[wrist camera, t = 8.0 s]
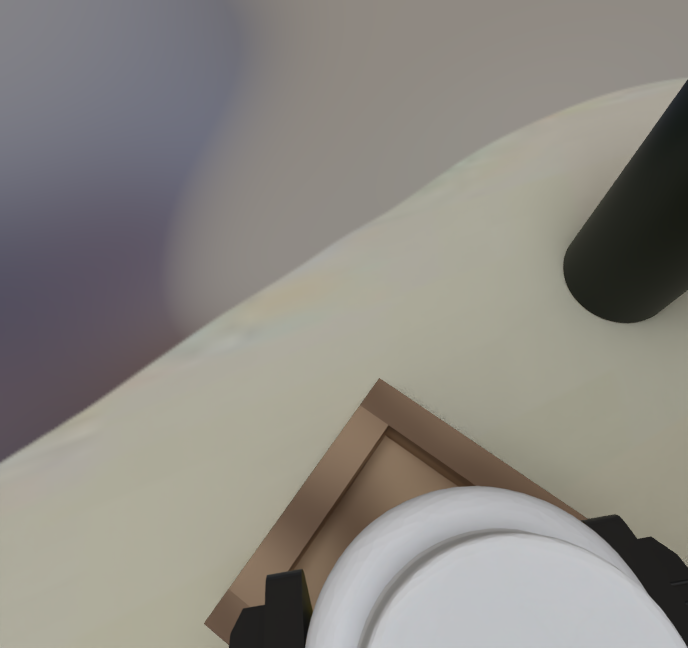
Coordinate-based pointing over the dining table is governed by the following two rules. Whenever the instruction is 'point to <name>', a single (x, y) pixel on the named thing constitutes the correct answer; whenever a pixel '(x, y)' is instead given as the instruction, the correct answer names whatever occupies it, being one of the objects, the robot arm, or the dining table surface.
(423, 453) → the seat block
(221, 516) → the dining table surface
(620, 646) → the supplement bottle
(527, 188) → the dining table surface
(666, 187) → the wine bottle
